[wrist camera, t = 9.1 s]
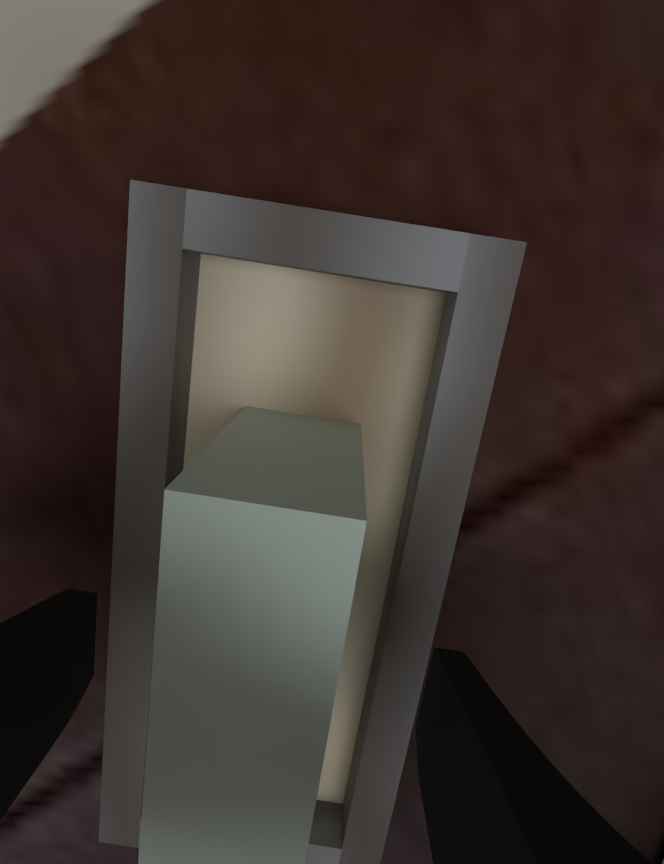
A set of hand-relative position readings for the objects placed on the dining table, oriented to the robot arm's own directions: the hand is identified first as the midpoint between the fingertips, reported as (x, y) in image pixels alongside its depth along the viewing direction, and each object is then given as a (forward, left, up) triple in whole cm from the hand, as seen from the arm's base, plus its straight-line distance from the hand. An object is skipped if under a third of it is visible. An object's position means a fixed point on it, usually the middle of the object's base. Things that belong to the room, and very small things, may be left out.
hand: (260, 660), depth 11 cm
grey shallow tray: (0, 0, -5) cm, 5 cm away
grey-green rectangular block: (0, 0, -4) cm, 4 cm away
